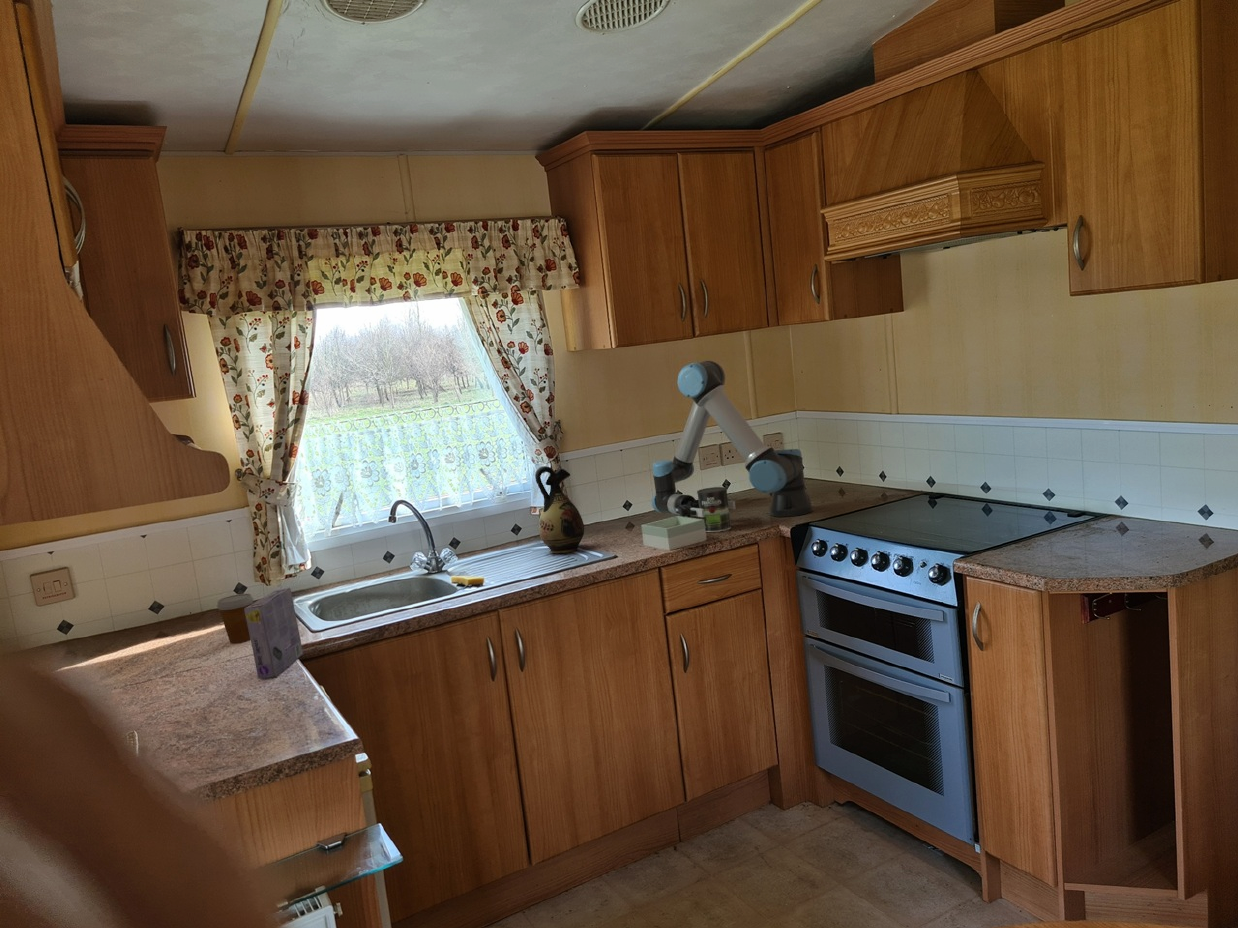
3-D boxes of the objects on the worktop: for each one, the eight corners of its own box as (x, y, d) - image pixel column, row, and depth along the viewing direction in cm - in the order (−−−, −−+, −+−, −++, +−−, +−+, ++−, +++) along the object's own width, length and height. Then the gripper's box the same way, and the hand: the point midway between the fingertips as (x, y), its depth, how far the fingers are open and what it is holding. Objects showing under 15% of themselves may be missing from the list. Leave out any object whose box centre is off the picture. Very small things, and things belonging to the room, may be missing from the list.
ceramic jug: (576, 543, 336) (564, 460, 333) (593, 549, 322) (582, 462, 319) (531, 553, 329) (519, 468, 326) (547, 559, 315) (534, 471, 312)
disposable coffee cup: (231, 647, 256) (223, 604, 255) (218, 642, 263) (210, 600, 262) (265, 636, 262) (258, 594, 261) (252, 632, 269) (244, 591, 268)
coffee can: (729, 531, 322) (724, 490, 320) (699, 534, 324) (694, 493, 323) (733, 525, 332) (728, 485, 330) (704, 527, 334) (699, 488, 333)
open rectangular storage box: (679, 535, 325) (677, 516, 324) (706, 540, 313) (704, 519, 312) (643, 545, 318) (641, 525, 317) (669, 550, 305) (666, 529, 304)
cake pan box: (287, 654, 241) (275, 587, 239) (306, 652, 241) (294, 585, 239) (255, 681, 222) (242, 608, 220) (276, 678, 222) (263, 605, 220)
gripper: (711, 508, 350) (748, 512, 332) (655, 522, 337) (691, 527, 319) (708, 488, 349) (745, 491, 331) (652, 501, 336) (688, 505, 318)
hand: (718, 509), depth 325 cm, fingers open, 13 cm apart
